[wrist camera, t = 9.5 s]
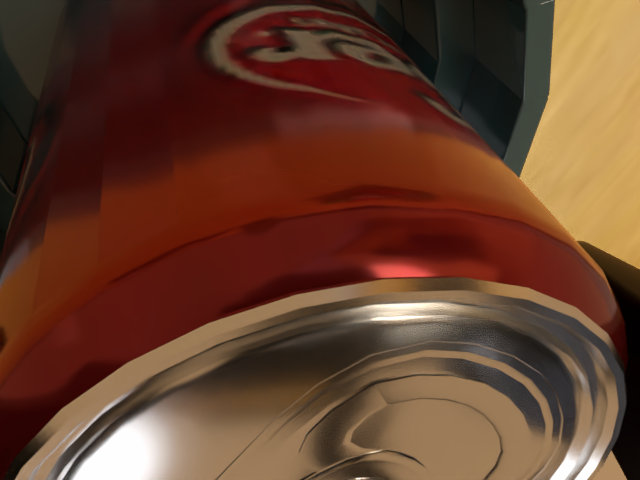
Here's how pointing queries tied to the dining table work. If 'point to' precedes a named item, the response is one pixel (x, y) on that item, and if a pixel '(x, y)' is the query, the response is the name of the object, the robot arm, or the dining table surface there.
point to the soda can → (285, 266)
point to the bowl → (392, 15)
